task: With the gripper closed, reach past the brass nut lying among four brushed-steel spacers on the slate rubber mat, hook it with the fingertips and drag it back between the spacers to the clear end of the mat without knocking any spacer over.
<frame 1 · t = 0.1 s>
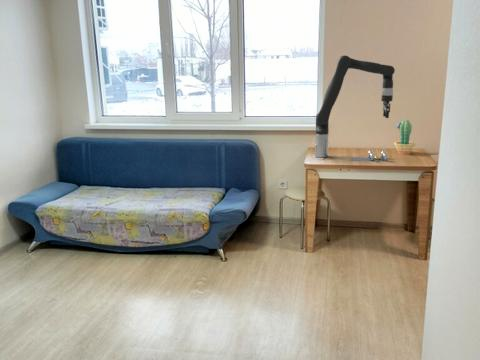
hand: (385, 117, 320), 29 cm above the table, fingers open, 8 cm apart
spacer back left: (370, 158, 323), resting on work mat
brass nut: (377, 159, 318), resting on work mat
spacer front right: (385, 160, 314), resting on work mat
spacer back right: (383, 158, 321), resting on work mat
potted cactus: (403, 153, 338), on the table
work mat: (367, 159, 319), on the table
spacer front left: (372, 160, 315), resting on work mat
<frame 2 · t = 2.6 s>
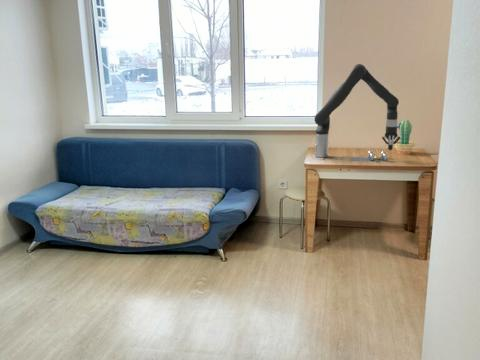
hand: (390, 149, 315), 7 cm above the table, fingers closed
nothing on the table moved.
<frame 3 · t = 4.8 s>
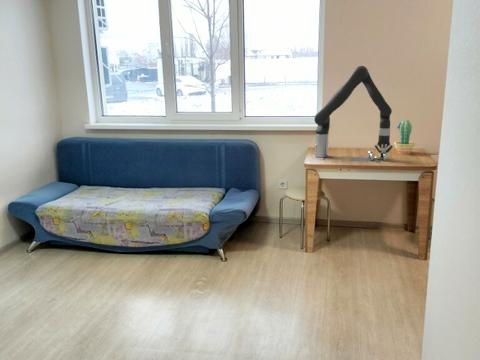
hand: (382, 158, 318), 1 cm above the table, fingers closed
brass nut: (377, 159, 318), resting on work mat, touching gripper
everything else where it was.
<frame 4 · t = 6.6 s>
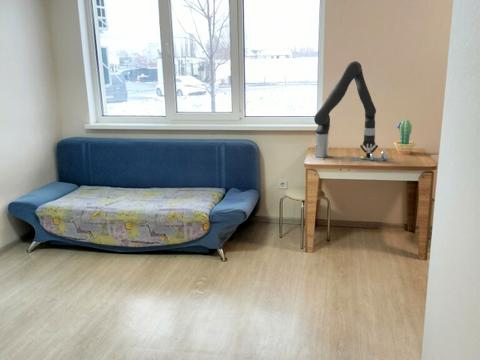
hand: (368, 158, 319), 1 cm above the table, fingers closed
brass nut: (363, 159, 320), resting on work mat, touching gripper
everything else where it was.
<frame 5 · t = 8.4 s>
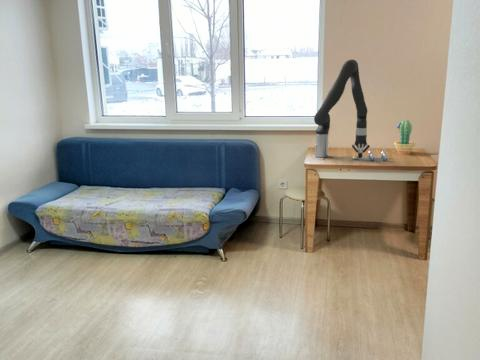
hand: (360, 157, 320), 1 cm above the table, fingers closed
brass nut: (355, 159, 320), resting on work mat, touching gripper
everything else where it was.
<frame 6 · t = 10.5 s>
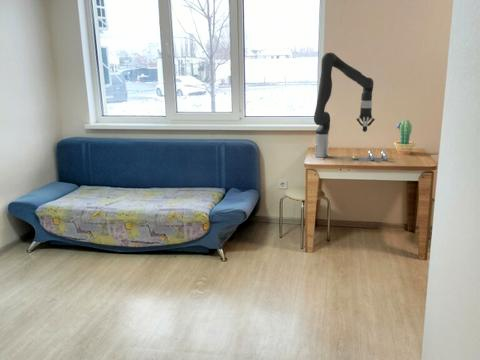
hand: (364, 131, 315), 20 cm above the table, fingers closed
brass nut: (355, 159, 320), resting on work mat
everything else where it was.
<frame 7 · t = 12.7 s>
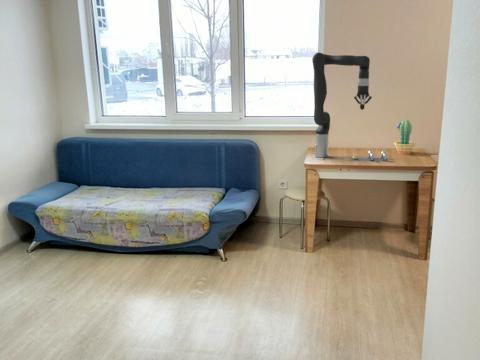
hand: (362, 109, 319), 35 cm above the table, fingers closed
nothing on the table moved.
at the end: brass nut inside the target area (0.8 cm from its centre), resting on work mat; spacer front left tilted 0°; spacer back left tilted 0° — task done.
